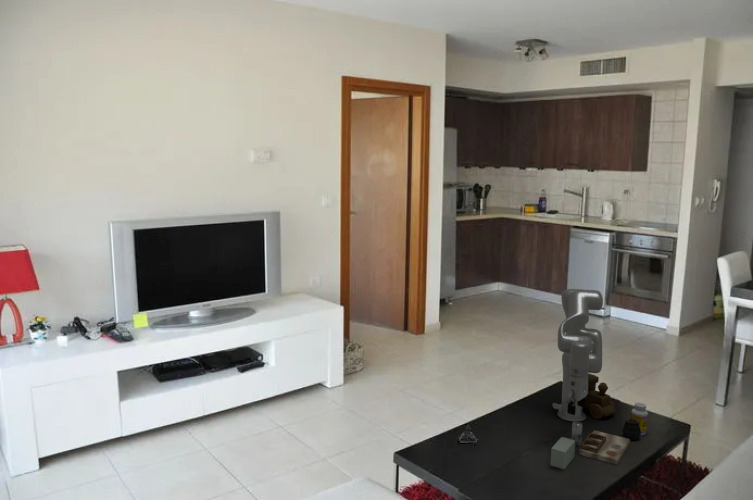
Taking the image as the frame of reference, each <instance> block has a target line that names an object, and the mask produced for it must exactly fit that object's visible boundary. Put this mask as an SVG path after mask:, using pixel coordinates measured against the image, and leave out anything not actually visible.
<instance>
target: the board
mask: <svg viewBox="0 0 753 500" xmlns="http://www.w3.org/2000/svg"><path fill="white" fill-rule="evenodd" d="M630 444H631V440H630V439H627V438H625V437H623V436H619V435H615V434H611V433H606V432H602V431H599V430H595V429H594V430H593V431H592V432H589V433H588V435H587V436H586V437H585V439H584V440H583V441H582V442H581V445H580V448H579V449H578V455H580V456H584V457H587V458H591V459H594V460H598V461H601V462H606V463H609V464H613V465H618V463H619V462H620V460H621V458H622V457H623V455H624V453H625V452H626V451H627V449H628V447H629V446H630Z"/></svg>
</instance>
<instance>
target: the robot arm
mask: <svg viewBox="0 0 753 500" xmlns="http://www.w3.org/2000/svg"><path fill="white" fill-rule="evenodd" d="M603 297H604V296H603V295H602V292H601V291H599V290H595V289H582V288H581V289H579V288H567V289H564V290H563V291H562V292H561V297H560V298H561V305H562V309H563V312H564V315H565V318H564V320H563V321H562V322H561V323H560V325H559V327H558V330H557V348H558V350H559V351H560V352H562V355H561V363H562V386H561V387H562V388H561V403H559V404H558V403H555V402H553V403H552V408H553V409H554V410H556V411H557V410H558V411H557V416H558V417H559V418H560V419H562V420H564V421H568V422H572V423H573V422H575V421H577V422H583V421H585V420H586V418H587V415H586V413H584V411H583V410H584V409H583V407H585V400H586V396H587V394H588V373H589V374H599V373H600V372H601V371H602V369H603V335H602V332H601V331H600V330H599V329H595V328H589V327H588V328H587V327H586V325H587V324H588V323H589V322H590V321H589V319H590V313H589V312H590V311H600V310H602V308H603V305H604V298H603Z"/></svg>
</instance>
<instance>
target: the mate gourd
mask: <svg viewBox="0 0 753 500" xmlns="http://www.w3.org/2000/svg"><path fill="white" fill-rule="evenodd" d="M629 414H630V417H627V418H625V422H624V424H623V427H622V435H623V436H624V437H623V438H627V439H630V441H636V440H637V439H639V438H640V436H641V435H640V434H641V430H640V426H639V421H638V420H637V419H634V418H632V411H631V412H630V413H629Z"/></svg>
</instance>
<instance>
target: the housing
mask: <svg viewBox="0 0 753 500" xmlns="http://www.w3.org/2000/svg"><path fill="white" fill-rule="evenodd" d="M550 450H551V451H550V466H551V467H556V468H559V469H561V470H565V469H566V468H567V466H568V465H569V464H570V463H571V461H572V460H573V459H574V457H575V455H576V454H575V453H576V452H575V451H576V446H575V440H572V438H568V437H563V436H561V437H560V438H559V439H558V440H557V441H556V443H555V444H554V445H553V446H552V447H551V449H550Z"/></svg>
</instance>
